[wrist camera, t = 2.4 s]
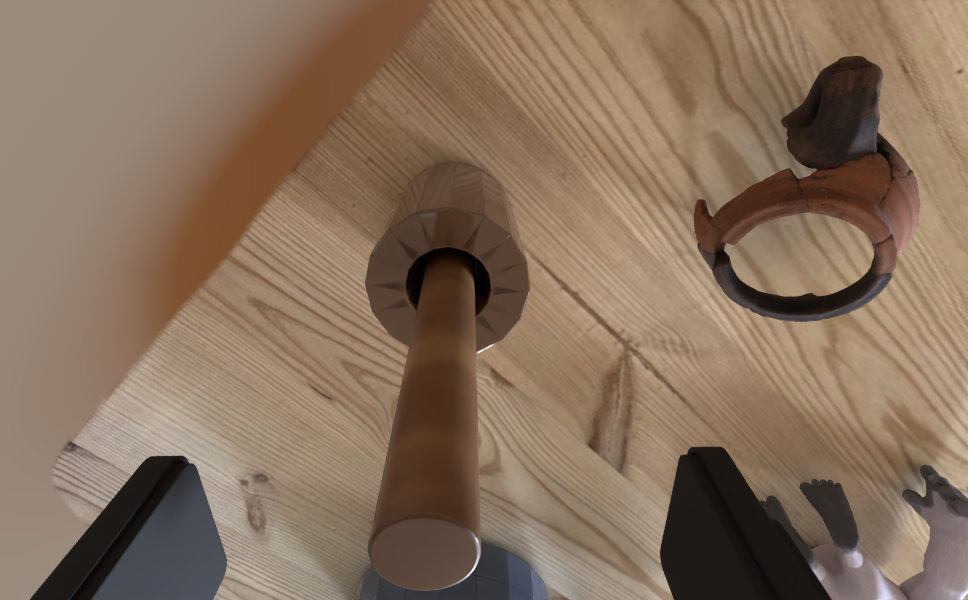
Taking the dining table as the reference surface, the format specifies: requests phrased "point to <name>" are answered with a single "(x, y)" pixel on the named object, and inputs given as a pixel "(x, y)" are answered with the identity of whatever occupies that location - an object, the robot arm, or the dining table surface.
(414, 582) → the stick
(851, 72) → the broken pottery
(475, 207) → the holder
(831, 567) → the yeti figurine
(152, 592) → the robot arm
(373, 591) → the bowl
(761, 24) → the dining table surface
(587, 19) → the dining table surface
